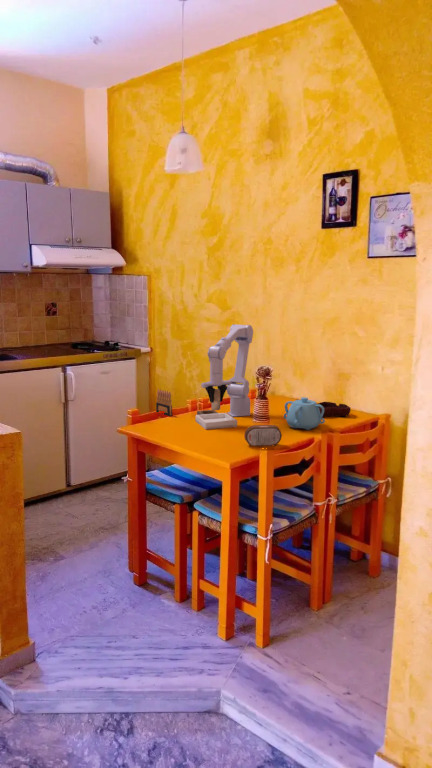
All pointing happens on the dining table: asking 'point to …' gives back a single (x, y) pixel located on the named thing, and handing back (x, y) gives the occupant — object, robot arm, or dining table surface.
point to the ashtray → (334, 409)
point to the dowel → (216, 400)
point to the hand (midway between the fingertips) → (216, 401)
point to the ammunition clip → (164, 402)
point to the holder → (206, 412)
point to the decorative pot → (304, 414)
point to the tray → (216, 421)
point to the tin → (263, 435)
